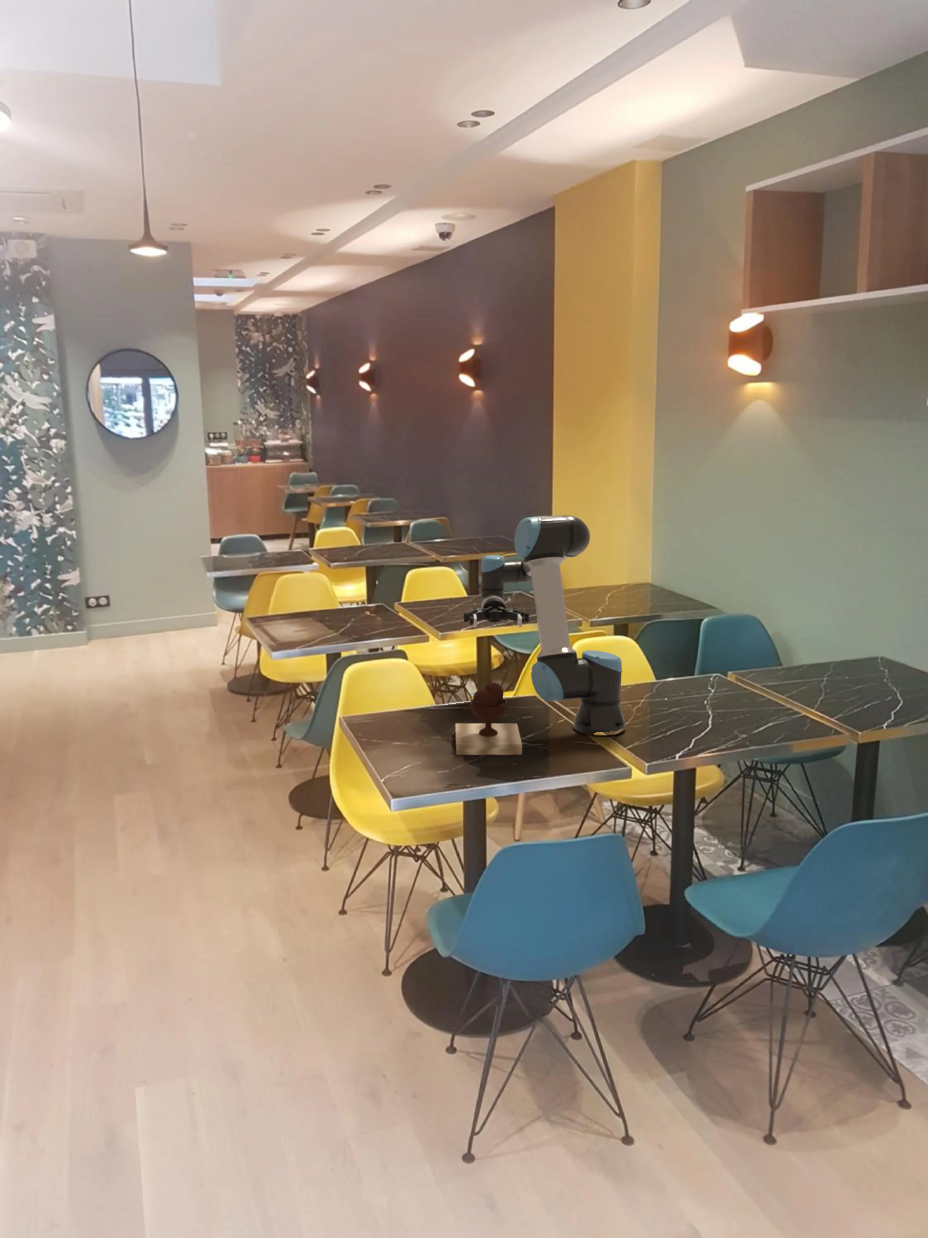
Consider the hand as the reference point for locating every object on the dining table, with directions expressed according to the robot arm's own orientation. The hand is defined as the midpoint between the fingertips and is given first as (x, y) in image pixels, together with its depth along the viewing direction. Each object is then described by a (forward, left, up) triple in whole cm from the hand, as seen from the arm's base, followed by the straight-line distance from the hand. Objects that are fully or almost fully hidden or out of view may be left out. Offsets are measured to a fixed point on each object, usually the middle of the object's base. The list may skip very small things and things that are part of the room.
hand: (498, 623), depth 296 cm
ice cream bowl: (+4, +23, -27) cm, 36 cm away
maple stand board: (+4, +24, -30) cm, 38 cm away
